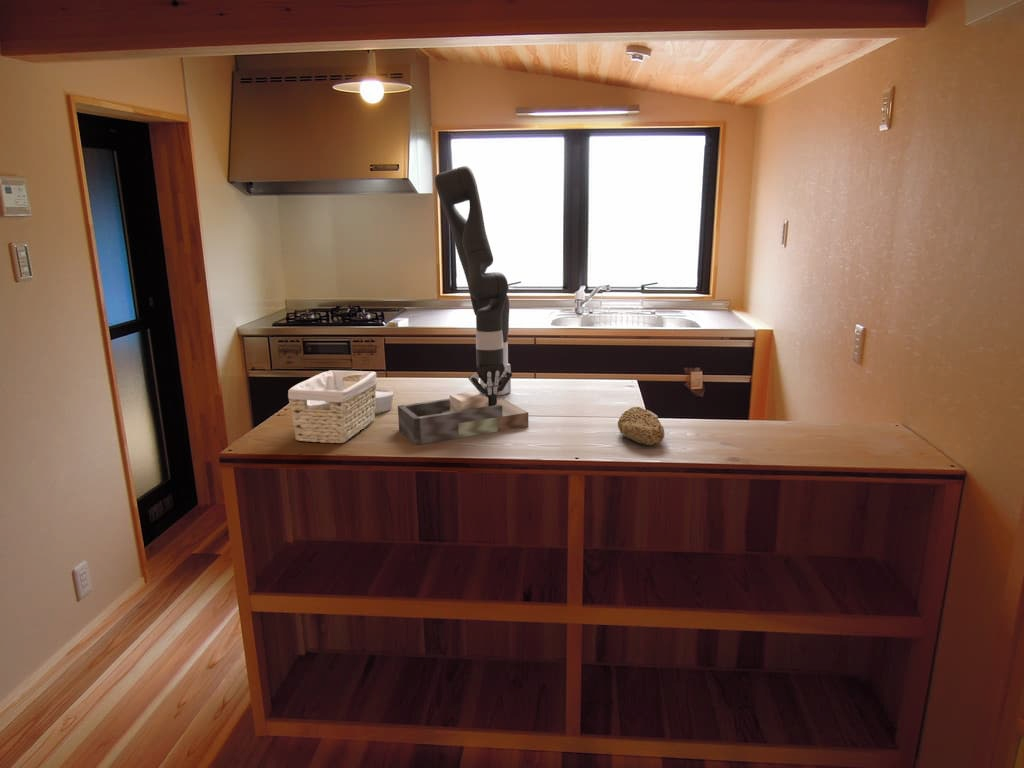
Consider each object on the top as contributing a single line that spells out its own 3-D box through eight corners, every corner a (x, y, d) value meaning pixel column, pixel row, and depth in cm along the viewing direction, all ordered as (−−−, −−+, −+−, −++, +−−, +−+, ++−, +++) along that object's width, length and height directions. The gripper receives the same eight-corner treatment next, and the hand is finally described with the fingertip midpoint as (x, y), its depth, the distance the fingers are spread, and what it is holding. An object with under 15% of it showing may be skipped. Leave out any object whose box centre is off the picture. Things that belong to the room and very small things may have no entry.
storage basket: (330, 417, 203) (326, 368, 200) (382, 419, 200) (379, 370, 196) (289, 443, 181) (284, 389, 177) (347, 447, 177) (343, 391, 174)
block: (476, 408, 196) (475, 391, 195) (488, 415, 189) (488, 397, 188) (450, 412, 192) (449, 394, 191) (461, 419, 186) (461, 401, 184)
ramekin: (398, 404, 215) (397, 388, 214) (389, 415, 204) (388, 398, 203) (363, 404, 216) (362, 388, 215) (352, 414, 205) (351, 397, 204)
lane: (506, 413, 204) (505, 390, 203) (528, 426, 192) (528, 402, 190) (399, 430, 190) (397, 405, 188) (415, 445, 178) (414, 419, 176)
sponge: (620, 429, 193) (607, 437, 174) (627, 402, 192) (615, 407, 173) (666, 442, 189) (658, 451, 170) (674, 415, 188) (666, 421, 169)
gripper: (505, 341, 195) (506, 400, 200) (462, 346, 189) (464, 406, 194) (517, 346, 189) (518, 406, 193) (473, 351, 183) (475, 413, 187)
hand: (491, 406), depth 193 cm, fingers closed
